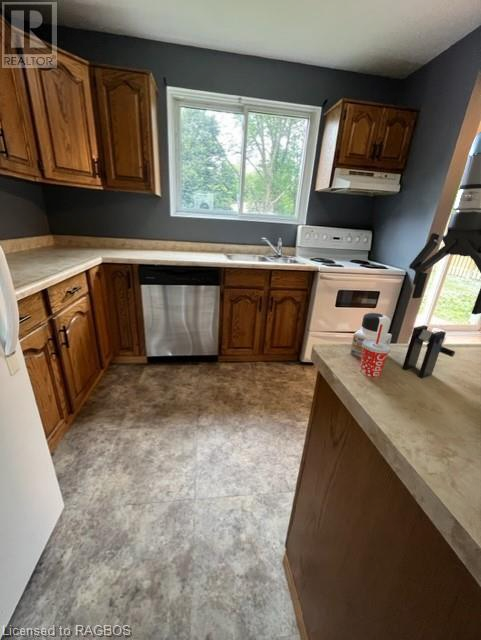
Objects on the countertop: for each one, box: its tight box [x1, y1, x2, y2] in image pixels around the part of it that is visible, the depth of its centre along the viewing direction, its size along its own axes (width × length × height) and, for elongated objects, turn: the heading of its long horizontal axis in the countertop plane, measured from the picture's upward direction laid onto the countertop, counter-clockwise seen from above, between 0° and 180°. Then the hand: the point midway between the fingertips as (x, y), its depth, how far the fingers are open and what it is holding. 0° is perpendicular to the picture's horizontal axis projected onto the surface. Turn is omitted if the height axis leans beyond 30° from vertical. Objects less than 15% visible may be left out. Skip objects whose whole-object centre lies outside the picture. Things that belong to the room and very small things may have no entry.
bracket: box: [401, 324, 447, 380], centre depth 66 cm, size 12×9×13 cm
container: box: [349, 312, 393, 359], centre depth 74 cm, size 8×8×13 cm
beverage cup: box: [359, 324, 392, 378], centre depth 65 cm, size 6×6×14 cm
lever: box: [419, 329, 456, 358], centre depth 67 cm, size 12×6×2 cm, turn 118°
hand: (443, 305), depth 67 cm, fingers open, 13 cm apart
